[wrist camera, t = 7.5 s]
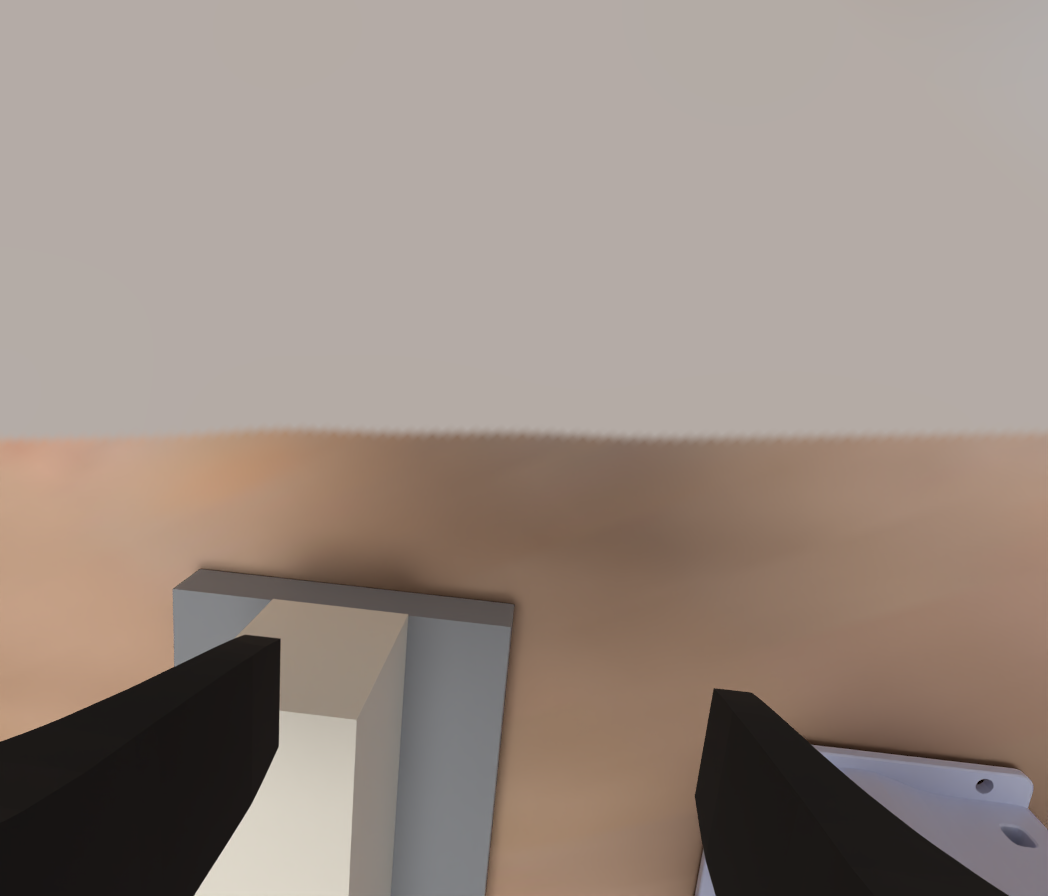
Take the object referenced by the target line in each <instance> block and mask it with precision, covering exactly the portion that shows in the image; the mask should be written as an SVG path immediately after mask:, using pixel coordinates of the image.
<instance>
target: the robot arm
mask: <svg viewBox="0 0 1048 896" xmlns="http://www.w3.org/2000/svg"><path fill="white" fill-rule="evenodd" d="M280 651H281V639H280V638H271V637H262V636H254V635H242V636H240V637H237V638H234V639H232V640H230V641H227V642H225V643H223V644H221V645H219V646H216V647H214V648H212V649H210V650H208V651H206V652H204V653H202V654H200V655H198V656H196V657H194V658H192V659H189V660H187V661H185V662H183V663H181V664H179V665H177V666H175V667H173V668H171V669H169V670H167V671H165V672H163V673H161V674H159V675H156V676H154V677H152V678H150V679H148V680H146V681H144V682H142V683H140V684H138V685H136V686H134V687H132V688H129V689H127V690H125V691H123V692H120V693H118V694H116V695H114V696H111V697H109V698H107V699H105V700H102V701H100V702H98V703H95V704H93V705H91V706H89V707H86V708H84V709H82V710H80V711H77V712H75V713H73V714H71V715H68V716H66V717H64V718H61V719H59V720H56V721H54V722H52V723H49V724H47V725H44V726H41V727H39V728H36V729H34V730H31V731H29V732H26V733H23V734H21V735H18V736H15V737H12V738H10V739H7V740H4V741H1V742H0V896H194V895H195V893H196V892H197V890H198V889H199V887H200V885H201V884H202V882H203V881H204V879H205V878H206V876H207V875H208V873H209V871H210V870H211V868H212V867H213V865H214V864H215V862H216V860H217V859H218V857H219V856H220V854H221V853H222V851H223V849H224V848H225V846H226V845H227V843H228V842H229V840H230V838H231V837H232V835H233V834H234V832H235V830H236V829H237V827H238V826H239V824H240V822H241V821H242V819H243V818H244V816H245V814H246V813H247V811H248V809H249V808H250V806H251V804H252V803H253V800H254V798H255V796H256V794H257V792H258V790H259V788H260V786H261V784H262V782H263V780H264V778H265V776H266V774H267V771H268V769H269V767H270V765H271V763H272V760H273V758H274V756H275V754H276V752H277V749H278V747H279V709H280ZM982 779H985V780H984V781H983V782H982V783H981V784H977V783H978V781H980V780H982ZM976 784H977V785H976ZM1032 793H1033V784H1032V781H1031V780H1030V779H1029V778H1028V777H1027V776H1026V775H1025V774H1024V773H1023V772H1022V771H1020V770H1018V769H1014V768H1006V767H998V766H989V765H981V764H972V763H964V762H955V761H947V760H938V759H929V758H921V757H912V756H904V755H895V754H887V753H878V752H870V751H861V750H852V749H844V748H835V747H827V746H818V745H811V744H810V743H809V742H808V741H806V740H805V739H804V738H803V737H802V736H801V735H800V734H799V733H798V732H797V731H795V730H794V729H793V728H792V727H791V726H790V725H789V724H788V723H787V722H785V721H784V720H783V719H782V718H781V717H780V716H779V715H778V714H776V713H775V712H774V711H773V710H772V709H771V708H770V707H769V706H767V705H766V704H765V703H764V702H763V701H761V700H760V699H759V698H758V697H756V696H755V695H754V694H753V693H750V692H741V691H732V690H724V689H715V688H714V690H713V696H712V702H711V707H710V713H709V719H708V725H707V730H706V736H705V742H704V747H703V753H702V759H701V764H700V770H699V776H698V782H697V787H696V793H695V800H696V807H697V813H698V820H699V826H700V832H701V838H702V844H703V853H702V859H701V864H700V870H699V875H698V881H697V886H696V892H695V896H1048V829H1047V828H1046V827H1045V826H1044V825H1043V824H1042V823H1041V822H1040V821H1039V820H1038V819H1037V817H1036V816H1035V815H1034V814H1033V813H1032V812H1031V811H1030V810H1029V809H1028V806H1029V803H1030V799H1031V796H1032Z"/></svg>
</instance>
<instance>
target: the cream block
mask: <svg viewBox="0 0 1048 896" xmlns="http://www.w3.org/2000/svg"><path fill="white" fill-rule="evenodd" d="M407 629H408V614H402V613H393V612H384V611H375V610H367V609H358V608H349V607H340V606H331V605H323V604H314V603H305V602H296V601H288V600H279V599H272V600H271V601H270V603H269V604H268V605H267V606H266V607H265V608H264V609H263V610H262V611H261V612H260V613H259V614H258V615H257V616H256V617H255V618H254V619H253V620H252V621H251V622H250V623H249V624H248V625H247V626H246V627H245V628H244V629H243V630H242V631H241V632H240V633H239V634H238V635H237V636H236V637H235V638H237V637H240V636H242V635H254V636H262V637H271V638H280V639H281V651H280V709H279V747H278V749H277V752H276V754H275V756H274V758H273V760H272V763H271V765H270V767H269V769H268V771H267V774H266V776H265V778H264V780H263V782H262V784H261V786H260V788H259V790H258V792H257V794H256V796H255V798H254V800H253V803H252V804H251V806H250V808H249V809H248V811H247V813H246V814H245V816H244V818H243V819H242V821H241V822H240V824H239V826H238V827H237V829H236V830H235V832H234V834H233V835H232V837H231V838H230V840H229V842H228V843H227V845H226V846H225V848H224V849H223V851H222V853H221V854H220V856H219V857H218V859H217V860H216V862H215V864H214V865H213V867H212V868H211V870H210V871H209V873H208V875H207V876H206V878H205V879H204V881H203V882H202V884H201V885H200V887H199V889H198V890H197V892H196V893H195V895H194V896H391V881H392V865H393V850H394V834H395V818H396V802H397V787H398V771H399V755H400V739H401V724H402V708H403V692H404V676H405V660H406V645H407Z"/></svg>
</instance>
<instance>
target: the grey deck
mask: <svg viewBox="0 0 1048 896" xmlns="http://www.w3.org/2000/svg"><path fill="white" fill-rule="evenodd" d="M272 599H279V600H288V601H296V602H305V603H314V604H323V605H331V606H340V607H349V608H358V609H367V610H375V611H384V612H393V613H402V614H408V629H407V645H406V660H405V676H404V692H403V708H402V724H401V739H400V755H399V771H398V787H397V802H396V818H395V834H394V850H393V865H392V881H391V896H485V895H486V885H487V875H488V865H489V855H490V845H491V835H492V825H493V815H494V805H495V795H496V785H497V775H498V765H499V755H500V745H501V735H502V724H503V714H504V704H505V694H506V684H507V674H508V664H509V654H510V644H511V634H512V624H513V614H514V604H508V603H499V602H490V601H481V600H473V599H464V598H455V597H446V596H437V595H428V594H419V593H410V592H401V591H392V590H383V589H374V588H365V587H356V586H347V585H339V584H330V583H321V582H312V581H303V580H294V579H285V578H276V577H267V576H258V575H249V574H240V573H231V572H222V571H214V570H205V569H199V570H198V571H196V572H195V573H194V574H192V575H191V576H190V577H188V578H187V579H186V580H184V581H183V582H181V583H180V584H179V585H177V586H176V587H175V588H173V624H174V667H175V666H177V665H179V664H181V663H183V662H185V661H187V660H189V659H192V658H194V657H196V656H198V655H200V654H202V653H204V652H206V651H208V650H210V649H212V648H214V647H216V646H219V645H221V644H223V643H225V642H227V641H230V640H232V639H234V638H235V637H236V636H237V635H238V634H239V633H240V632H241V631H242V630H243V629H244V628H245V627H246V626H247V625H248V624H249V623H250V622H251V621H252V620H253V619H254V618H255V617H256V616H257V615H258V614H259V613H260V612H261V611H262V610H263V609H264V608H265V607H266V606H267V605H268V604H269V603H270V601H271V600H272Z"/></svg>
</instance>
